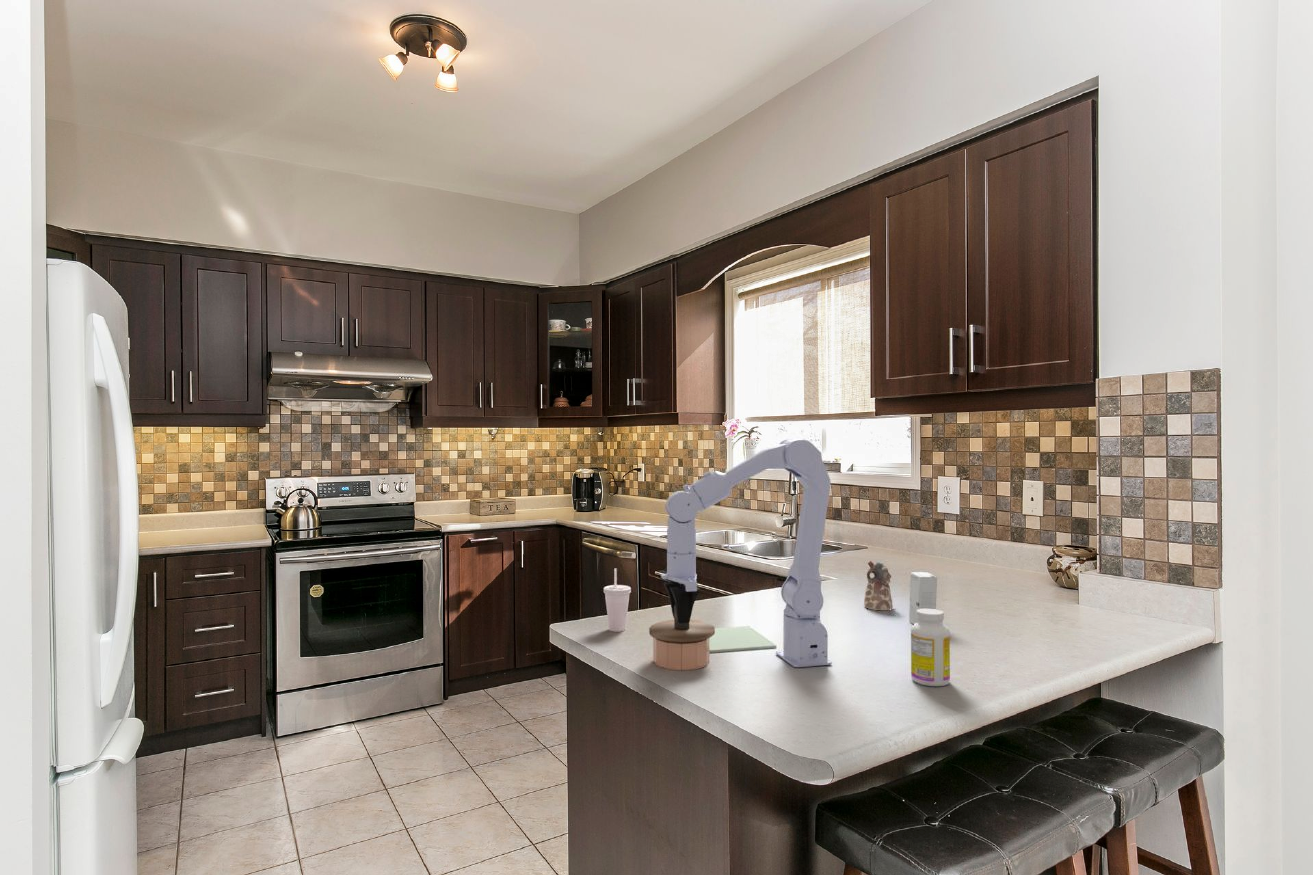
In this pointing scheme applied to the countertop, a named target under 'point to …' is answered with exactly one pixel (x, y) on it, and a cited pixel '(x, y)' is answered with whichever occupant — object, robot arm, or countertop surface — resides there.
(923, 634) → the supplement bottle
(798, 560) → the robot arm
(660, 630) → the lid
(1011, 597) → the countertop surface
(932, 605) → the skincare box
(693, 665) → the bowl
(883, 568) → the figurine
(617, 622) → the smoothie
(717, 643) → the mat
